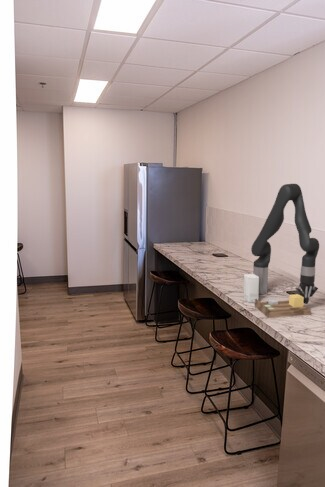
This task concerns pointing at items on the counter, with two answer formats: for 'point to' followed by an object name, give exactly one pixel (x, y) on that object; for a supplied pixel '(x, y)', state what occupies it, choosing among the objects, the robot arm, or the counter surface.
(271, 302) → the grey block
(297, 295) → the mustard block
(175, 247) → the counter surface
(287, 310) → the box
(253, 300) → the skincare box
